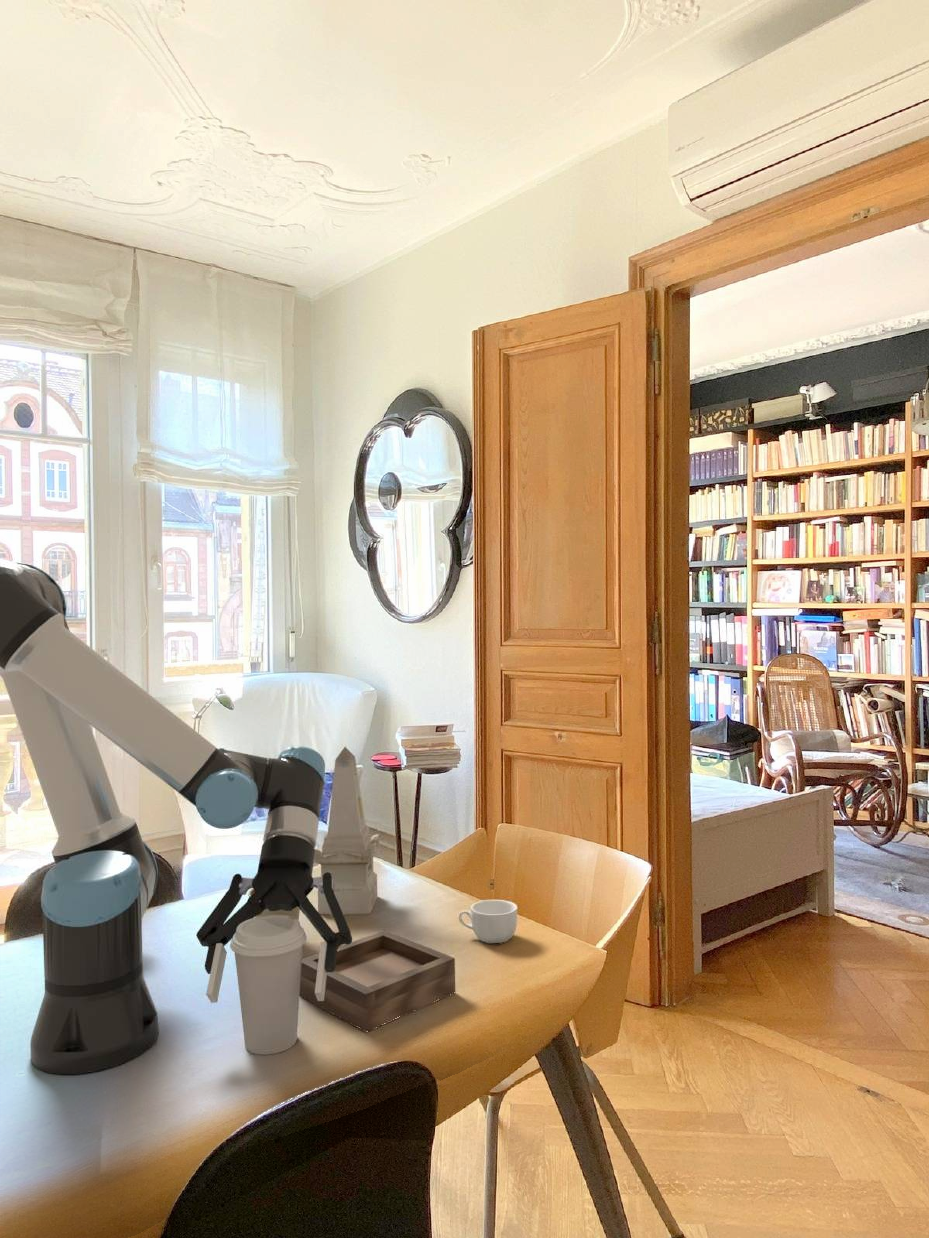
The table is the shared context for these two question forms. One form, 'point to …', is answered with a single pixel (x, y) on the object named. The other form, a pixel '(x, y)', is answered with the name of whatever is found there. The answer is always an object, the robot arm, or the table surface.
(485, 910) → the teacup
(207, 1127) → the table surface
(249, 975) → the coffee cup
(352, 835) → the miniature monument
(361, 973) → the walnut stand
